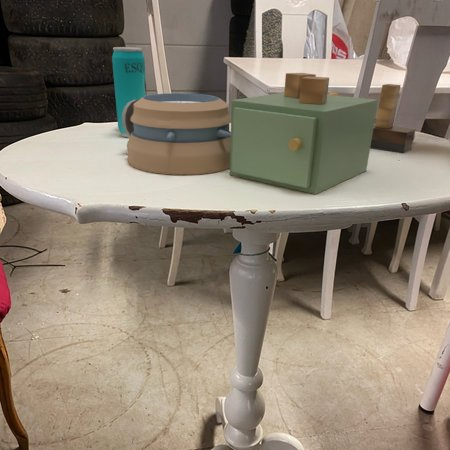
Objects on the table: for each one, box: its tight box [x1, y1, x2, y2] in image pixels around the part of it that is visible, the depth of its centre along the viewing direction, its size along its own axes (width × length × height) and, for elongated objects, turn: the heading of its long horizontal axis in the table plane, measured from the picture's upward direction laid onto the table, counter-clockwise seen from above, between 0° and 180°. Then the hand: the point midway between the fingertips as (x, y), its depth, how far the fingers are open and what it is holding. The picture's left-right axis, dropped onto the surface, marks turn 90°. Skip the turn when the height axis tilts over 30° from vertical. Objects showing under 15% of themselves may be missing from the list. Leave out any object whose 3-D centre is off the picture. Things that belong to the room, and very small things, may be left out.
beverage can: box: [111, 46, 148, 139], centre depth 87 cm, size 6×6×15 cm
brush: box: [370, 83, 416, 154], centre depth 83 cm, size 10×4×10 cm, turn 52°
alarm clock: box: [122, 92, 231, 176], centre depth 74 cm, size 17×9×23 cm
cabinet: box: [229, 92, 379, 195], centre depth 66 cm, size 14×18×10 cm
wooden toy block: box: [283, 72, 317, 99], centre depth 66 cm, size 3×3×3 cm
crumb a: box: [299, 76, 330, 105], centre depth 61 cm, size 3×3×3 cm
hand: (406, 1), depth 75 cm, fingers open, 8 cm apart
